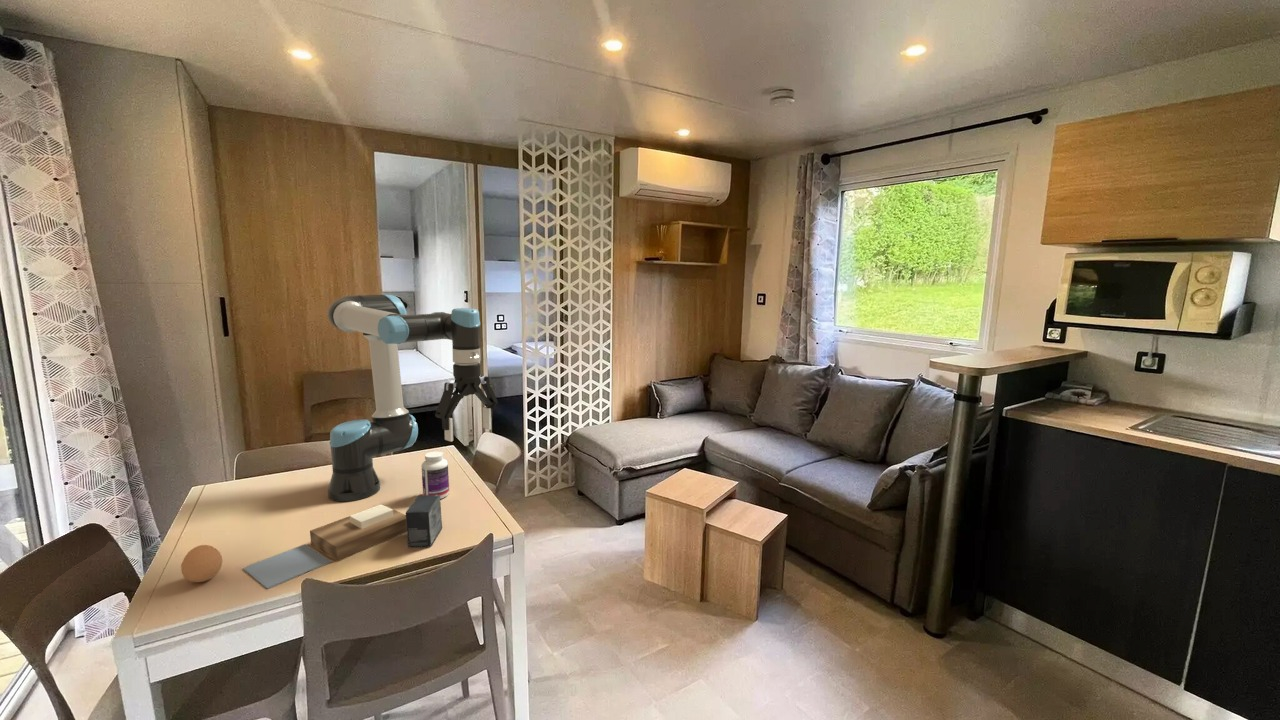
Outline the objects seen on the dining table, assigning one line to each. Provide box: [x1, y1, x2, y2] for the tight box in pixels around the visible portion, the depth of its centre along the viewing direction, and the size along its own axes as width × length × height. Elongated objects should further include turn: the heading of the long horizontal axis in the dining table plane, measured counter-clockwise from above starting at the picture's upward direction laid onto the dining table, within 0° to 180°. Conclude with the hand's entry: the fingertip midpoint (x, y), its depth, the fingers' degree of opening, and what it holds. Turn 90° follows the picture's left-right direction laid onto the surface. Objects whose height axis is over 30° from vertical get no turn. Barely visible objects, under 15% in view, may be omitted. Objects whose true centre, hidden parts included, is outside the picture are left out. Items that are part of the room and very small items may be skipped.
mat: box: [242, 543, 332, 590], centre depth 128 cm, size 14×14×1 cm
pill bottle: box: [420, 451, 450, 500], centre depth 168 cm, size 8×8×14 cm
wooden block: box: [309, 503, 407, 562], centre depth 142 cm, size 14×20×4 cm
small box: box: [405, 494, 443, 549], centre depth 142 cm, size 11×6×10 cm, turn 5°
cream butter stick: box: [349, 503, 394, 529], centre depth 144 cm, size 6×9×2 cm, turn 146°
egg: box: [180, 544, 223, 583], centre depth 121 cm, size 7×7×8 cm
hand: (468, 434), depth 150 cm, fingers open, 13 cm apart
